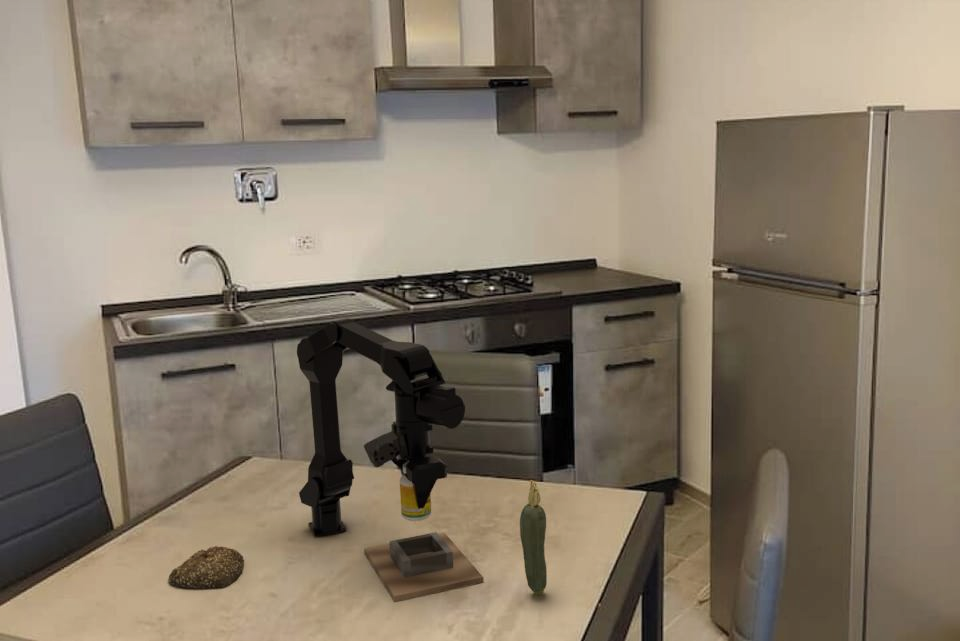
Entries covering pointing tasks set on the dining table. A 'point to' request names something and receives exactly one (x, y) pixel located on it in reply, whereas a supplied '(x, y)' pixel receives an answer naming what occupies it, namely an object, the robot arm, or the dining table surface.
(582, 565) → the dining table surface
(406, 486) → the supplement bottle
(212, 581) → the bread roll
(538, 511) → the vegetable
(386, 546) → the can holder
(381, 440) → the robot arm
